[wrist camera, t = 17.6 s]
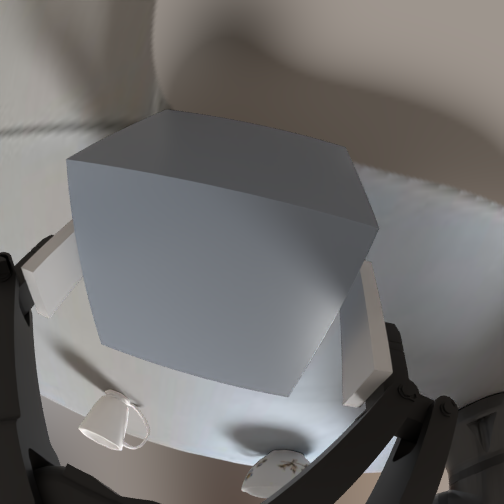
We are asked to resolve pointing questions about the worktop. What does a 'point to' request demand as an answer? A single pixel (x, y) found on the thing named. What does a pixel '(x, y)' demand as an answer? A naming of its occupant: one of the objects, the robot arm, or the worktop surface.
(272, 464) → the teacup
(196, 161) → the matte grey cuboid
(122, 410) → the cup
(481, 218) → the worktop surface
